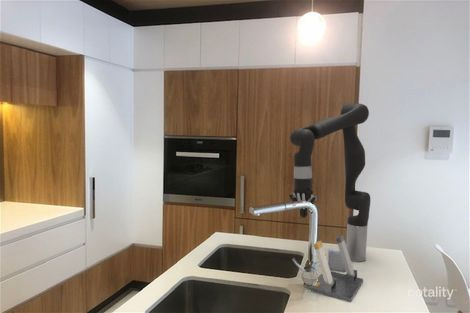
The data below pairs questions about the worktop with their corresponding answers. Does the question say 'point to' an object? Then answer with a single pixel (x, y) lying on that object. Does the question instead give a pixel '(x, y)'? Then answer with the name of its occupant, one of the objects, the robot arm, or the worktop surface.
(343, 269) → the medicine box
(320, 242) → the white rocker
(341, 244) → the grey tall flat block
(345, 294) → the switch panel
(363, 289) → the worktop surface
